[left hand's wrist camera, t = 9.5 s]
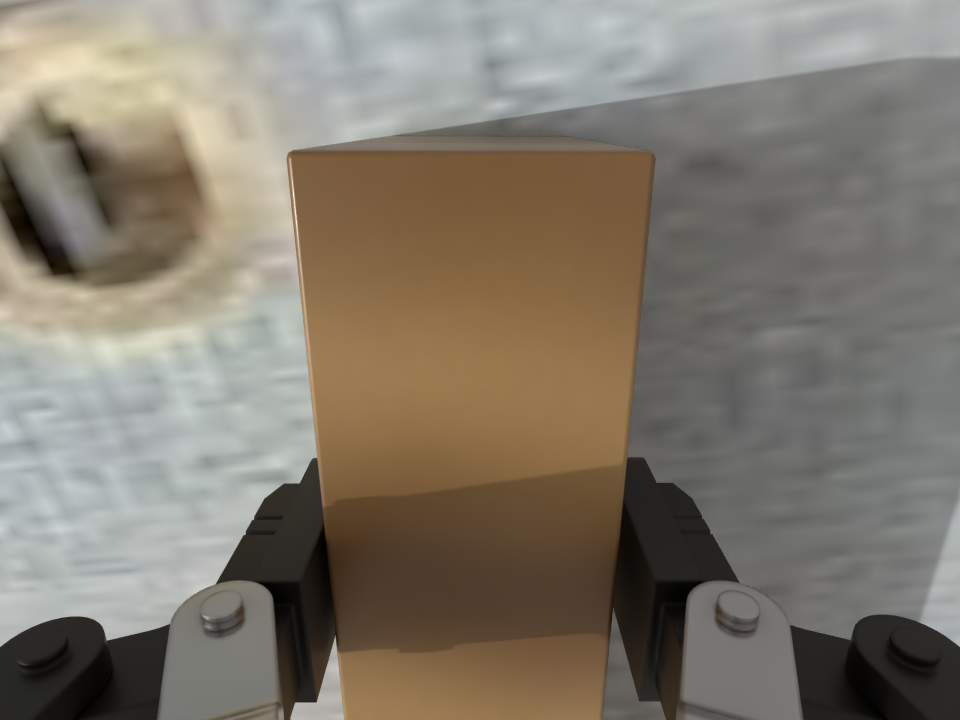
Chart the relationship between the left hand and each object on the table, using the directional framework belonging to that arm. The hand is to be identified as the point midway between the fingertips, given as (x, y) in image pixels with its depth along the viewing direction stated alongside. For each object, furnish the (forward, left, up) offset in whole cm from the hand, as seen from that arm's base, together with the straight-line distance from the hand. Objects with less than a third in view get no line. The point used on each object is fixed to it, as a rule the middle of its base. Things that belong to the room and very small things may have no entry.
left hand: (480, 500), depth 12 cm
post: (+21, +4, -6) cm, 22 cm away
